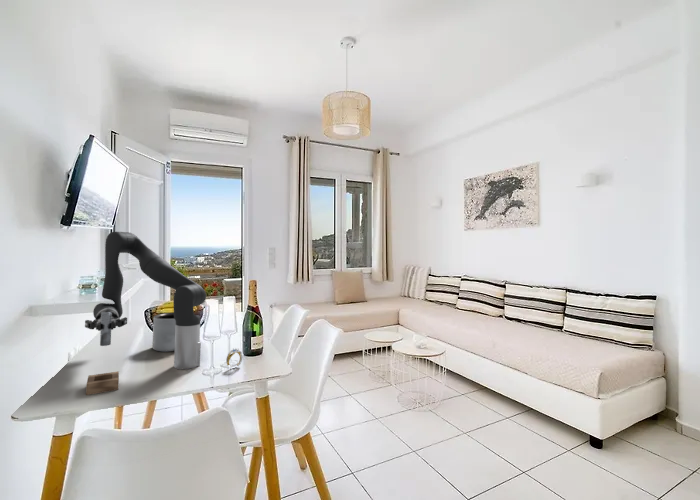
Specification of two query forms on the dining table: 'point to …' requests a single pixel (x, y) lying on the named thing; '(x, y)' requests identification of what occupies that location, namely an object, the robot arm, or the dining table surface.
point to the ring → (233, 354)
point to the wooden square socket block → (102, 383)
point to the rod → (105, 328)
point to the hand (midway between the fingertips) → (105, 327)
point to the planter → (164, 332)
